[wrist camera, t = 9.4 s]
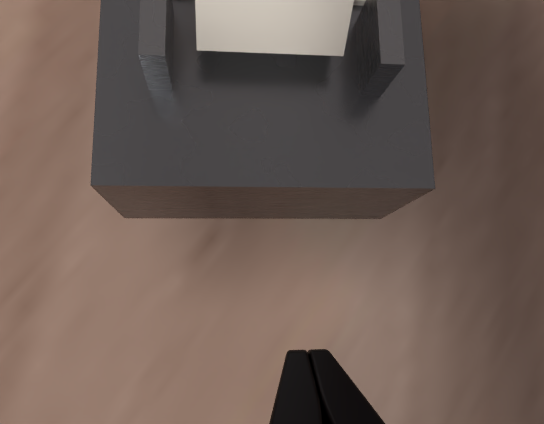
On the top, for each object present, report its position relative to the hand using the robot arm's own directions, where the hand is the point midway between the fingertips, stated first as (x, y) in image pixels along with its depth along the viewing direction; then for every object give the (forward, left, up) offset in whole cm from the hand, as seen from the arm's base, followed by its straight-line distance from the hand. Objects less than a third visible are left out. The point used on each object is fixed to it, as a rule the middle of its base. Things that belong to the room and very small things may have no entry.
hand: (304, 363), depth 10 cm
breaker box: (+7, -7, -12) cm, 16 cm away
